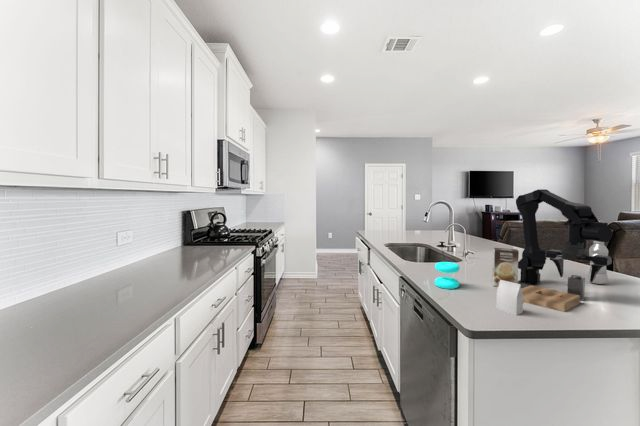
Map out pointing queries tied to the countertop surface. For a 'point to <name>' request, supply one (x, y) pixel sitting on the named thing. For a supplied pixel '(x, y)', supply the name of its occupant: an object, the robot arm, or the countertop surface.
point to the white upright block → (510, 297)
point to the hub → (550, 298)
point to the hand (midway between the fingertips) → (576, 279)
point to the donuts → (447, 281)
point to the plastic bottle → (595, 249)
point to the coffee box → (505, 265)
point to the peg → (576, 285)
